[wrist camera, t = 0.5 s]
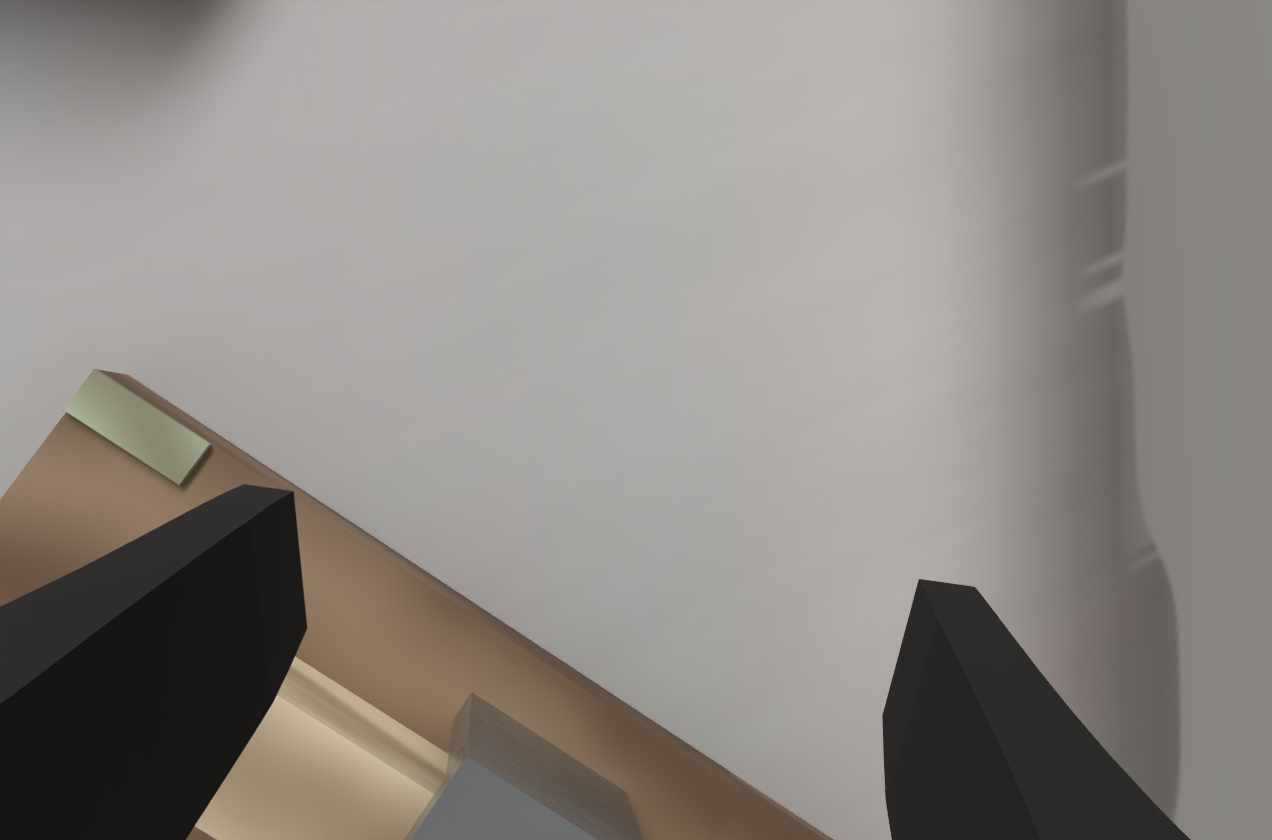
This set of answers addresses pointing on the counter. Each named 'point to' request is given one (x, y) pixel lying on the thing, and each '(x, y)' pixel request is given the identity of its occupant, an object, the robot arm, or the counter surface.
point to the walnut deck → (357, 609)
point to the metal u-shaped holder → (518, 788)
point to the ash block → (325, 770)
